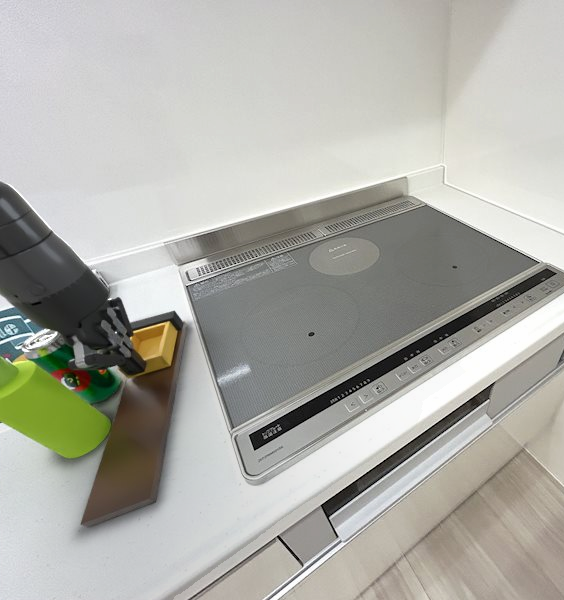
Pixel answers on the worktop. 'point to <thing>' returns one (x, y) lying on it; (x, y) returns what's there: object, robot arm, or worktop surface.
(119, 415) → the board
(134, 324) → the end stop
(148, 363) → the tray
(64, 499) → the worktop surface
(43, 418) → the soap dispenser
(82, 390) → the soda can
